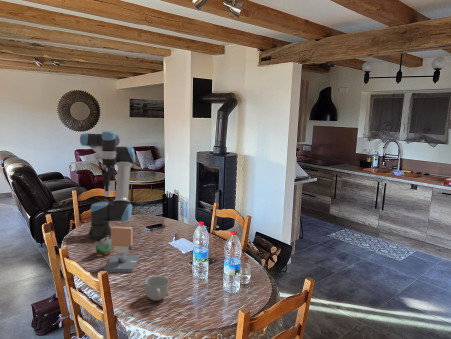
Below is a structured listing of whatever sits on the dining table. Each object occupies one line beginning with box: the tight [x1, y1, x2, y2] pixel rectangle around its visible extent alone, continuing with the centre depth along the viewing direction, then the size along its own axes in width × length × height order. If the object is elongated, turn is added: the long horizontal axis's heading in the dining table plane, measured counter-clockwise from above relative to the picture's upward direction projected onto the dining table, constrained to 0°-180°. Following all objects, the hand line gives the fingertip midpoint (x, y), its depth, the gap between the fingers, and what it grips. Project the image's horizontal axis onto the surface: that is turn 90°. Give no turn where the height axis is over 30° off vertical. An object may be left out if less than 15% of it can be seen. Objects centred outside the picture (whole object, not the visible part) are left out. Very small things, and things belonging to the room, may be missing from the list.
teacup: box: [144, 275, 170, 301], centre depth 145 cm, size 14×11×8 cm
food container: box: [94, 235, 111, 258], centre depth 189 cm, size 12×6×10 cm, turn 168°
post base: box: [103, 252, 140, 273], centre depth 176 cm, size 17×15×8 cm
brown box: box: [110, 225, 134, 254], centre depth 175 cm, size 11×8×13 cm
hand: (109, 193), depth 188 cm, fingers open, 13 cm apart
